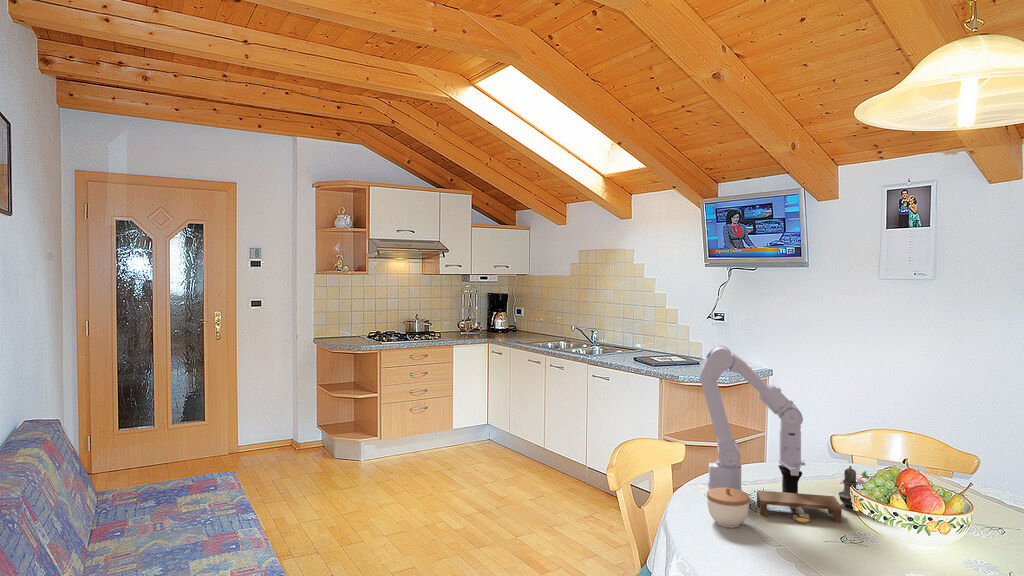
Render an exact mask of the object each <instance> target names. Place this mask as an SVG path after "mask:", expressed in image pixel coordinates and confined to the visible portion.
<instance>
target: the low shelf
mask: <svg viewBox="0 0 1024 576" xmlns="http://www.w3.org/2000/svg"><path fill="white" fill-rule="evenodd" d="M769 505H770V506H779V507H788V506H791V507H801V508H802V509H805V508H806V509H815V510H827V512H828V514H833V517H832V518H833V522H834V523H837V524H838V523H839V524H841V523H842V520H843V519H842V515H843V514H842V512H843V511H842V510H843V509H842V507H841V503H839V501H838V500H837V498H836V497H835V495H824V494H811V493H810V494H808V493H799V492H798V493H786V492H782V491H771V490H770V491H769V490H758V489H757V490H756V507H757V508H759V515H760V517H768V506H769Z"/></svg>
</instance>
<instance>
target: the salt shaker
mask: <svg viewBox="0 0 1024 576" xmlns="http://www.w3.org/2000/svg"><path fill="white" fill-rule="evenodd" d="M856 477H857V472H856V470H855V469H854V468H852V466H851V465H849V466H848V468H846V469H845V470H844V477H843V479H844V480H843V482H844V483H843V490H842V491H839V492H838V494H837V495H838V496H839V499H840V501H841V503H840V505H841V507H842V510H844V511H848V512H854V510H853V507H852V502H851V497H850V487H851V485H853V487H854V488H855V489H856V484H857V482H856ZM856 490H857V489H856Z"/></svg>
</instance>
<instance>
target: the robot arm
mask: <svg viewBox="0 0 1024 576" xmlns="http://www.w3.org/2000/svg"><path fill="white" fill-rule="evenodd" d="M728 369H729V372H732V373H737V374H739V375H740V376H741V377H743V378H744V379H745V380H746V381H747V382H748V383H749V385H751V386H752V387H753V388H755V390H756V391H758V399H759V400H760V401H761V402H762V403H763V404H764V405H765V406H766V407H767V408H768V409H769V410H770V411H772V413H773V414H774V415H777V417H778V418H779V419H780V422H779V423H780V425H779V426H780V429H779V459H778V464H779V465H778V469H779V470H780V473H781V475H782V474H783V477H784V481H785V487H786V492H787V493H795V492H796V488H797V484H798V485H799V481H800V479H801V477H802V476H803V472H802V470H801V467H802V466H806V462H805V460H802V431H801V427H802V426H801V425H802V424H803V421H804V417H803V415H802V412H801V411H800V409H799V408H798V407H797V405H796V404H795V403H794V401H793V400H792V399H788V398H787V397H786V396H785V395H784V394H783V392H782V389H781V388H780V387H779V386H777V387H776V386H775V385H774V384H767V383H766V382H764V380H763V379H762V378H761V377H760V376H759V375H758V374H757V373H756V372H755V371H754V370H753V369H752V368H751V367H750V366H749V364H748V363H746V362H745V361H744V359H742V358H740V357H739V356H738V355H737V354H736V353H734V352H733V351H732V352H731V349H729V348H728V347H727V346H725V345H716V346H714V347H712V349H710V351H709V352H708V353H707V355H706V358H705V361H704V363H703V366H702V369H701V372H700V375H699V378H700V384H701V387H702V390H703V393H704V397H705V401H706V404H707V408H708V412H709V415H710V416H709V417H710V419H711V422H712V427H713V429H714V433H715V436H716V441H717V446H716V447H717V448H716V449H717V459H716V461H715V462H708V481H707V487H708V490H710V489H713V488H733V489H737V490H741V491H743V488H742V462H741V458H742V455H741V453H740V446H739V444H738V443H737V441H736V440H735V439H734V437H733V434H732V432H731V430H732V429H731V428H730V425H729V420H728V417H727V413H726V410H725V407H724V402H723V399H722V396H721V393H720V389H719V388H720V387H719V384H718V380H719V378H720V377H721V375H722V374H723V373H724V372H726V371H727V370H728Z"/></svg>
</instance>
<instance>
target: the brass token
mask: <svg viewBox="0 0 1024 576" xmlns="http://www.w3.org/2000/svg"><path fill="white" fill-rule="evenodd" d="M792 518H793V519H792V520H793V522H795V523H797V524H801V525H802V524H803V525H808V524H810V522H811V516H810V517H809V516H807V515H803V514H794V515H793V517H792Z"/></svg>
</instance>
